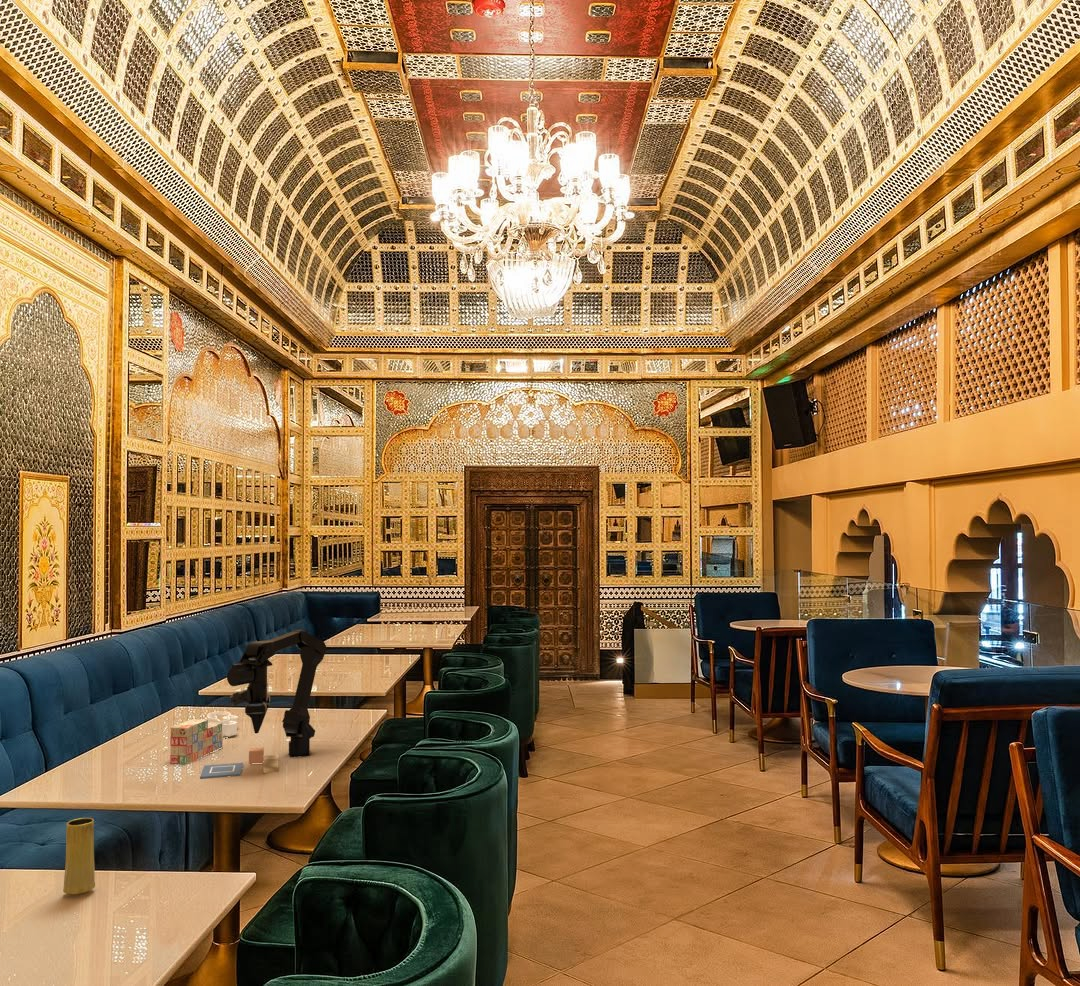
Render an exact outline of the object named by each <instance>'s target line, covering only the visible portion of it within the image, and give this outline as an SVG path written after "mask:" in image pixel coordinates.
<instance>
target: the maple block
mask: <svg viewBox="0 0 1080 986" xmlns="http://www.w3.org/2000/svg"><path fill="white" fill-rule="evenodd" d="M279 757H280V755H279V754H273V755H264V762H263V773H264V774H266V773H274V772H277V773H278V772H279V767H280V766H279V765H280V764H279V761H280V758H279Z"/></svg>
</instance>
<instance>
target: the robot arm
mask: <svg viewBox="0 0 1080 986" xmlns="http://www.w3.org/2000/svg"><path fill="white" fill-rule="evenodd" d="M294 645H295V646H296V647H297V648H298V649H299V650H300V653H299V656H300V660H301V665H302V666H301V668H300V673H299V677H298V682H297V686H296V690H295V695H294V699H293V704H292V706H291V707H290V708H289V709H286V710H285V711H284V715H283V719H282V721H281V723H282V728H283V730H284V732H285V737H287V738H290V740H289V741H288V755H289V758H299V757H298V756H302V757H310V756H311V751H310V750H311V747H310V745H311V742H310V741H311V740H310V739H312V738H314V737H315V734H316V729H315V728H314V727H313V726H312V725H311V724H310V719H311V715H310V712H309V710H308V707H309V703H310V698H311V694H312V690H313V686H314V685H313V684H314V681H315V677H316V673H317V667H318V666H319V664H321V662H322V661H323V660H324V658H325V655H326V651H327V645H326V643H325V641H324V640H320V638H317V637H316V636H313V635H312V634H310V633H309V632H308V631H306V630H305V629H294V630H292V631H290V632H288V633H285V634H282V635H280V636H276V637H274V638H271V639H268V640H259V641H257V640H256V641H251V642H249V643H248V644H247V645H246V648H245V650H244V651H243V654H242V656H241V657H240V659H239V661H238V663H233V664H231V668H229V670H228V672H227V674H226V681H227V682H228V684H229V685H230V687H237V686H242V685H247V684H248V685H247V687H246V689H243V690H241V691H236V692H234V693H232V694H231V695H230V697H229V699H230V703H231V705H232V706H233V707H237V706H238V705H239V704H242V703H245V702H246V703H247V704H245V707H244V710H245V711H244V713H245V715H246V716H248V717H249V718H250V719H251V723H252V727H253V731H254V734H259V732H260V729H261V727H262V725H263V722H264V719H265V717H266V714H267V712H268V709H269V706H270V703H271V695H270V694H269V693H268V687H269V683H268V667H272V666H273V663H272V662H271V661H270V660H269V659H270V658H272V657H274V655H275V653H277V652H279V651H282V650H285V649H287V648H289V647H292V646H294Z"/></svg>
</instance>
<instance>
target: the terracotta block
mask: <svg viewBox="0 0 1080 986" xmlns="http://www.w3.org/2000/svg"><path fill="white" fill-rule="evenodd" d="M264 752H265V747H250V748H249V750H248V765H249V764H252V763H263V764H264V762H263V761H264V756H265V755H264V754H265V753H264Z"/></svg>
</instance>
